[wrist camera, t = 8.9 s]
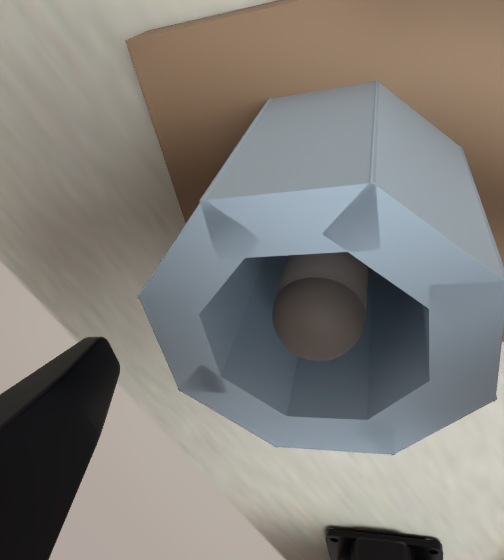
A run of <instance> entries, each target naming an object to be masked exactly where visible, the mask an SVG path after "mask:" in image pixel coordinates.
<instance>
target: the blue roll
mask: <svg viewBox="0 0 504 560" xmlns="http://www.w3.org/2000/svg"><path fill="white" fill-rule="evenodd" d="M336 252H348V253H350V254H351V255H353V256H354V257H356V258H357V259H358V260H360V261H361V262H363V263H364V264H365V265H367V266H368V285H367V305H366V321H365V327H364V330H363V333H362V335H361V337H360V339H359V340H358V342H357V343H356V345H355V346H354V347H353V348H352V349H351V350H350V351H349V352H347V353H346V354H344V355H343V356H341V357H339V358H336V359H333V360H329V361H323V362H316V361H309V360H306V359H303V358H300V357H298V356H296V355H295V354H293V353H292V352H290V351H289V350H288V349H287V348H286V347H285V346H284V345H283V344H282V342H281V341H280V340H279V338H278V336H277V334H276V332H275V329H274V325H273V319H272V310H273V304H274V300H275V297H276V294H277V290H278V287H279V283H280V280H281V277H282V273H283V270H284V267H285V263H286V260H287V256H288V255H303V254H319V253H336ZM138 299H140V301H141V304H142V306H143V308H144V310H145V313H146V315H147V317H148V320H149V322H150V324H151V327H152V329H153V331H154V333H155V336H156V338H157V340H158V343H159V345H160V347H161V349H162V352H163V354H164V356H165V359H166V361H167V363H168V366H169V368H170V370H171V372H172V375H173V377H174V379H175V382H176V384H177V386H178V390H179V391H182V392H183V393H185V394H187V395H188V396H190V397H192V398H193V399H195V400H197V401H199V402H200V403H202V404H204V405H205V406H207V407H209V408H210V409H212V410H214V411H215V412H217V413H219V414H221V415H222V416H224V417H226V418H227V419H229V420H231V421H232V422H234V423H236V424H238V425H239V426H241V427H243V428H244V429H246V430H248V431H249V432H251V433H253V434H255V435H256V436H258V437H260V438H261V439H263V440H265V441H266V442H268V443H270V444H272V445H273V446H274V447H287V448H302V449H317V450H332V451H347V452H362V453H377V454H391V455H395V453H397V452H399V451H401V450H403V449H405V448H407V447H408V446H410V445H412V444H414V443H416V442H418V441H420V440H422V439H423V438H425V437H427V436H429V435H431V434H433V433H435V432H436V431H438V430H440V429H442V428H444V427H446V426H448V425H450V424H451V423H453V422H455V421H457V420H459V419H461V418H463V417H464V416H466V415H468V414H470V413H472V412H474V411H476V410H477V409H479V408H481V407H483V406H485V405H487V404H489V403H491V402H492V401H495V400H496V399H497V396H496V390H497V380H498V371H499V362H500V353H501V344H502V335H503V326H504V266H503V263H502V260H501V257H500V255H499V252H498V249H497V246H496V243H495V240H494V237H493V234H492V232H491V229H490V226H489V223H488V220H487V217H486V214H485V211H484V209H483V206H482V203H481V200H480V197H479V194H478V191H477V188H476V186H475V183H474V180H473V177H472V174H471V171H470V168H469V166H468V163H467V160H466V157H465V154H464V151H463V148H462V146H459V145H458V144H456V143H455V142H454V141H453V140H451V139H450V138H449V137H448V136H446V135H445V134H444V133H443V132H441V131H440V130H439V129H437V128H436V127H435V126H434V125H432V124H431V123H430V122H429V121H427V120H426V119H425V118H424V117H422V116H421V115H420V114H419V113H417V112H416V111H415V110H414V109H412V108H411V107H410V106H408V105H407V104H406V103H405V102H403V101H402V100H401V99H400V98H398V97H397V96H396V95H395V94H393V93H392V92H391V91H390V90H388V89H387V88H386V87H384V86H383V85H382V84H381V83H380V82H379V81H377V80H376V81H375V82H370V83H363V84H357V85H351V86H345V87H339V88H333V89H327V90H321V91H315V92H309V93H303V94H297V95H291V96H285V97H279V98H273V99H271V98H270V99H268V100H267V102H266V103H265V105H264V106H263V108H262V109H261V110H260V112H259V113H258V115H257V116H256V118H255V119H254V121H253V122H252V124H251V125H250V127H249V128H248V130H247V131H246V133H245V134H244V136H243V137H242V139H241V140H240V141H239V143H238V144H237V146H236V147H235V149H234V150H233V152H232V153H231V155H230V156H229V158H228V159H227V161H226V162H225V164H224V165H223V167H222V168H221V170H220V171H219V172H218V174H217V175H216V177H215V178H214V180H213V181H212V183H211V184H210V186H209V187H208V189H207V190H206V192H205V193H204V195H203V196H202V198H201V199H200V204H199V205H198V207H197V208H196V210H195V211H194V213H193V214H192V215H191V217H190V218H189V220H188V221H187V223H186V224H185V226H184V227H183V229H182V230H181V232H180V233H179V235H178V236H177V238H176V239H175V241H174V242H173V244H172V245H171V247H170V248H169V250H168V251H167V253H166V254H165V256H164V257H163V259H162V260H161V262H160V263H159V265H158V266H157V268H156V269H155V271H154V272H153V274H152V275H151V277H150V278H149V280H148V281H147V283H146V284H145V286H144V287H143V289H142V290H141V292H140V293H139V295H138Z"/></svg>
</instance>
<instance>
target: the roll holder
mask: <svg viewBox="0 0 504 560" xmlns="http://www.w3.org/2000/svg"><path fill="white" fill-rule="evenodd" d="M126 44H127V47H128V50H129V53H130V56H131V59H132V62H133V65H134V68H135V71H136V74H137V77H138V80H139V83H140V86H141V89H142V92H143V95H144V98H145V101H146V104H147V107H148V110H149V113H150V116H151V119H152V122H153V125H154V128H155V131H156V134H157V137H158V140H159V143H160V146H161V149H162V152H163V155H164V158H165V161H166V164H167V167H168V170H169V173H170V176H171V179H172V182H173V185H174V188H175V191H176V194H177V198H178V201H179V204H180V207H181V210H182V213H183V216H184V219H185V222H186V223H187V221H188V220H189V218H190V217H191V215H192V214H193V213H194V211H195V210H196V208H197V207H198V205H199V204H200V199H201V198H202V196H203V195H204V193H205V192H206V190H207V189H208V187H209V186H210V184H211V183H212V181H213V180H214V178H215V177H216V175H217V174H218V172H219V171H220V170H221V168H222V167H223V165H224V164H225V162H226V161H227V159H228V158H229V156H230V155H231V153H232V152H233V150H234V149H235V147H236V146H237V144H238V143H239V141H240V140H241V139H242V137H243V136H244V134H245V133H246V131H247V130H248V128H249V127H250V125H251V124H252V122H253V121H254V119H255V118H256V116H257V115H258V113H259V112H260V110H261V109H262V108H263V106H264V105H265V103H266V102H267V100H268V99H270V98H271V99H273V98H279V97H285V96H291V95H297V94H303V93H309V92H315V91H321V90H327V89H333V88H339V87H345V86H351V85H357V84H363V83H370V82H375V81H376V80H377V81H379V82H380V83H381V84H382V85H383V86H384V87H386V88H387V89H388V90H390V91H391V92H392V93H393V94H395V95H396V96H397V97H398V98H400V99H401V100H402V101H403V102H405V103H406V104H407V105H408V106H410V107H411V108H412V109H414V110H415V111H416V112H417V113H419V114H420V115H421V116H422V117H424V118H425V119H426V120H427V121H429V122H430V123H431V124H432V125H434V126H435V127H436V128H437V129H439V130H440V131H441V132H443V133H444V134H445V135H446V136H448V137H449V138H450V139H451V140H453V141H454V142H455V143H456V144H458V145H459V146H462V148H463V151H464V154H465V157H466V160H467V163H468V166H469V168H470V171H471V174H472V177H473V180H474V183H475V186H476V188H477V191H478V194H479V197H480V200H481V203H482V206H483V209H484V211H485V214H486V217H487V220H488V223H489V226H490V229H491V232H492V234H493V237H494V240H495V243H496V246H497V249H498V252H499V255H500V257H501V260H502V263H503V266H504V0H279V1H274V2H270V3H266V4H261V5H257V6H253V7H249V8H244V9H240V10H236V11H231V12H227V13H223V14H218V15H214V16H210V17H205V18H201V19H197V20H193V21H188V22H184V23H180V24H175V25H171V26H167V27H162V28H158V29H154V30H150V31H146V32H144V33H142V34H140V35H137V36H135V37H133V38H130V39H128V40H126ZM367 285H368V266H367V265H365V264H364V263H363V262H361V261H360V260H358V259H357V258H356V257H354V256H353V255H351V254H350V253H348V252H336V253H319V254H303V255H288V256H287V260H286V263H285V267H284V270H283V273H282V277H281V280H280V283H279V287H278V290H277V294H276V297H275V300H274V304H273V310H272V319H273V325H274V329H275V332H276V334H277V336H278V338H279V340H280V341H281V342H282V344H283V345H284V346H285V347H286V348H287V349H288V350H289V351H290V352H292V353H293V354H295V355H296V356H298V357H300V358H303V359H306V360H309V361H316V362H323V361H329V360H333V359H336V358H339V357H341V356H343V355H344V354H346V353H347V352H349V351H350V350H351V349H352V348H353V347H354V346H355V345H356V343H357V342H358V340H359V339H360V337H361V335H362V333H363V330H364V327H365V321H366V305H367ZM502 342H504V326H503V335H502Z"/></svg>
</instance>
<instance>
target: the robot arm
mask: <svg viewBox="0 0 504 560" xmlns="http://www.w3.org/2000/svg"><path fill="white" fill-rule="evenodd" d="M119 373H120V365H119V361H118V359H117V358H116V356H115V354H114V352H113V350H112V348H111V346H110V344H109V342H108V341H107V339H105V338H104V337H87V338H85V339H83V340H81V341H80V342H78V343H77V344H75V345H74V346H73V347H71V348H70V349H68V350H66V351H65V352H63V353H62V354H60V355H59V356H57V357H56V358H54V359H53V360H51V361H50V362H49V363H47V364H45V365H44V366H43V367H41V368H39V369H38V370H36V371H35V372H34V373H32V374H31V375H29V376H28V377H26V378H24V379H23V380H21V381H20V382H19V383H17V384H16V385H14V386H13V387H11V388H10V389H8V390H7V391H5V392H4V393H2V394H1V395H0V560H49V557H50V555H51V552H52V550H53V547H54V545H55V543H56V540H57V538H58V536H59V533H60V531H61V528H62V526H63V524H64V521H65V519H66V517H67V514H68V512H69V509H70V507H71V505H72V502H73V500H74V498H75V495H76V493H77V490H78V488H79V485H80V483H81V481H82V478H83V476H84V474H85V471H86V469H87V466H88V464H89V462H90V459H91V457H92V454H93V452H94V450H95V447H96V445H97V442H98V440H99V437H100V435H101V432H102V429H103V426H104V423H105V419H106V416H107V413H108V409H109V406H110V403H111V400H112V396H113V393H114V390H115V387H116V384H117V380H118V377H119ZM326 543H327V547H328V551H329V555H330V559H331V560H443V549H442V544H441V543H440V542H437V541H433V540H425V539H417V538H408V537H399V536H391V535H382V534H374V533H365V532H356V531H348V530H339V529H328V530H327V531H326Z"/></svg>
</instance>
